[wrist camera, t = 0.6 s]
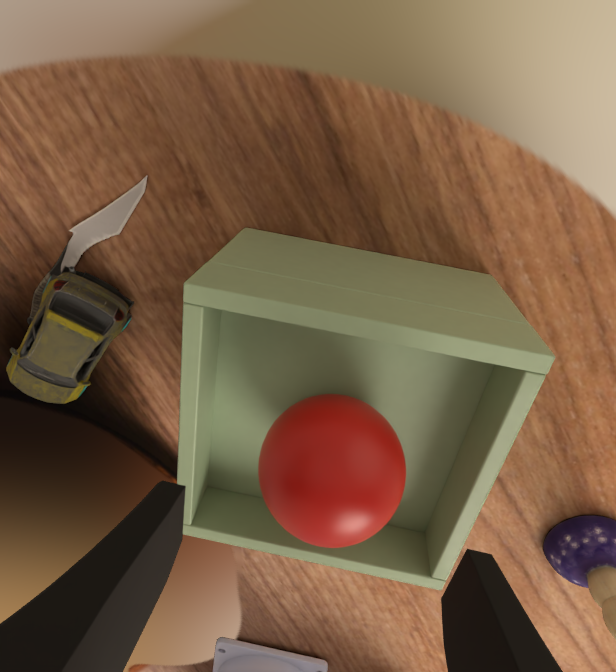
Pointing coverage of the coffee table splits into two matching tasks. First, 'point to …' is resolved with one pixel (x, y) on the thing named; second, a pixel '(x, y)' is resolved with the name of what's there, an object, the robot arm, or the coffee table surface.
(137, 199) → the knife
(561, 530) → the toy lamp
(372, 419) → the ball
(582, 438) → the coffee table surface
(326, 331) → the open box
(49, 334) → the race car
